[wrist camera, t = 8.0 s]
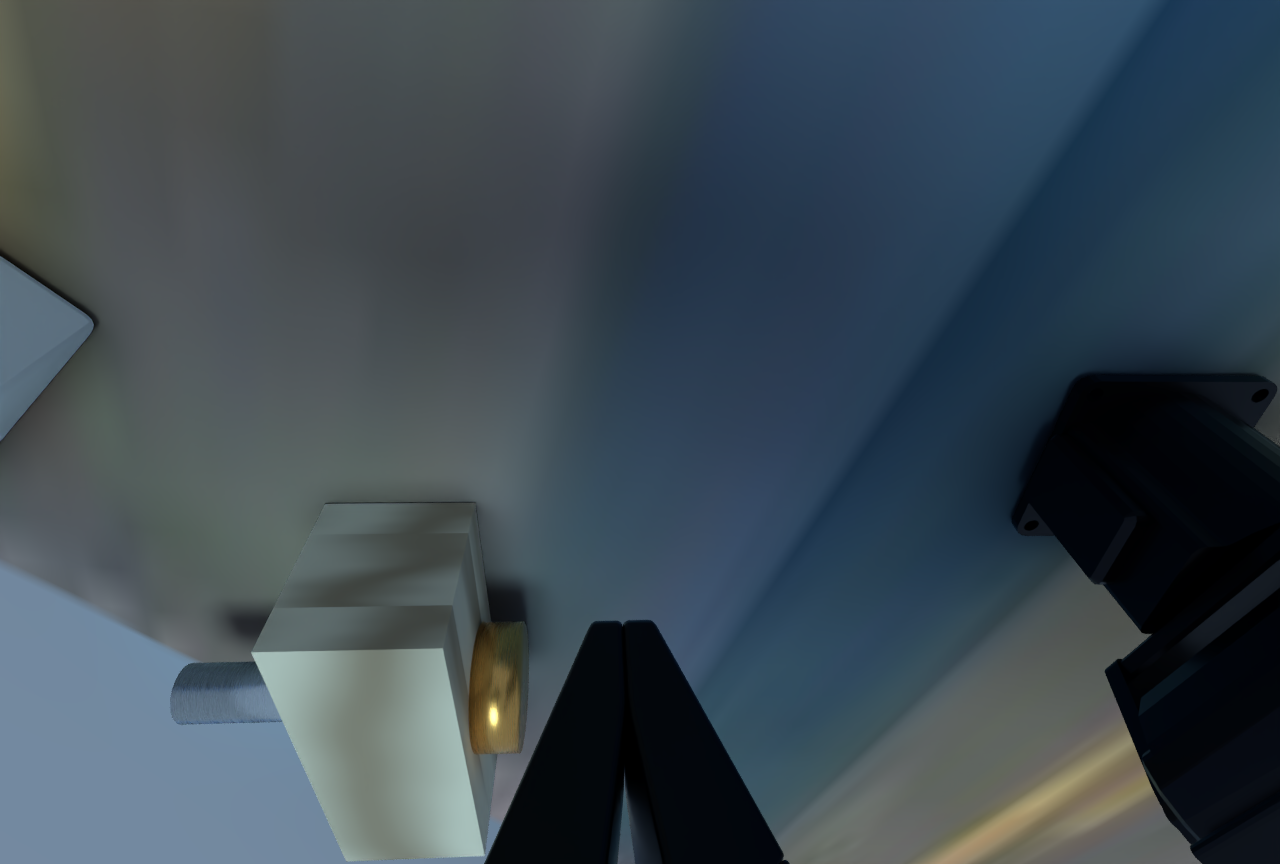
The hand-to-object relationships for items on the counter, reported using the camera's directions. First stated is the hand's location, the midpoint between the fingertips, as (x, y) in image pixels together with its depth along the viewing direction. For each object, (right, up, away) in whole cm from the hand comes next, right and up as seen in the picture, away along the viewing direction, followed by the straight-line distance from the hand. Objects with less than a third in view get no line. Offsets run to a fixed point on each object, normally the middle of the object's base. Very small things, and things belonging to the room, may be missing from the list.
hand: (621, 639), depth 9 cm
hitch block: (-8, -5, +17) cm, 20 cm away
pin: (-10, -5, +17) cm, 20 cm away
